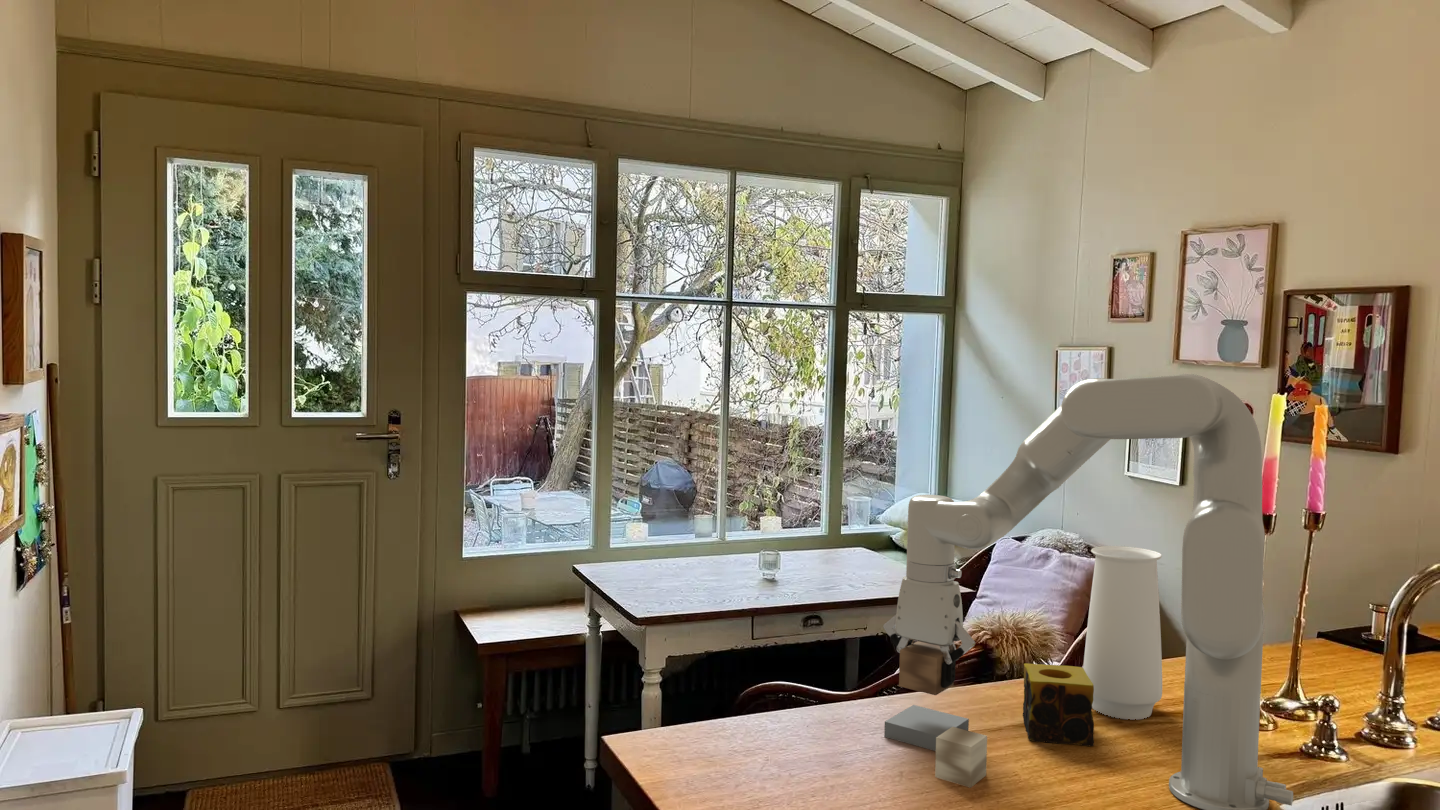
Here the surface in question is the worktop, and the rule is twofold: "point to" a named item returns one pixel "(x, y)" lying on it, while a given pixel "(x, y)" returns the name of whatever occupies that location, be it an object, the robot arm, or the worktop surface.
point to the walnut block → (921, 668)
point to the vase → (1124, 632)
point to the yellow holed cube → (1058, 704)
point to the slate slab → (922, 726)
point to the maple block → (961, 756)
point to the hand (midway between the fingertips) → (926, 679)
